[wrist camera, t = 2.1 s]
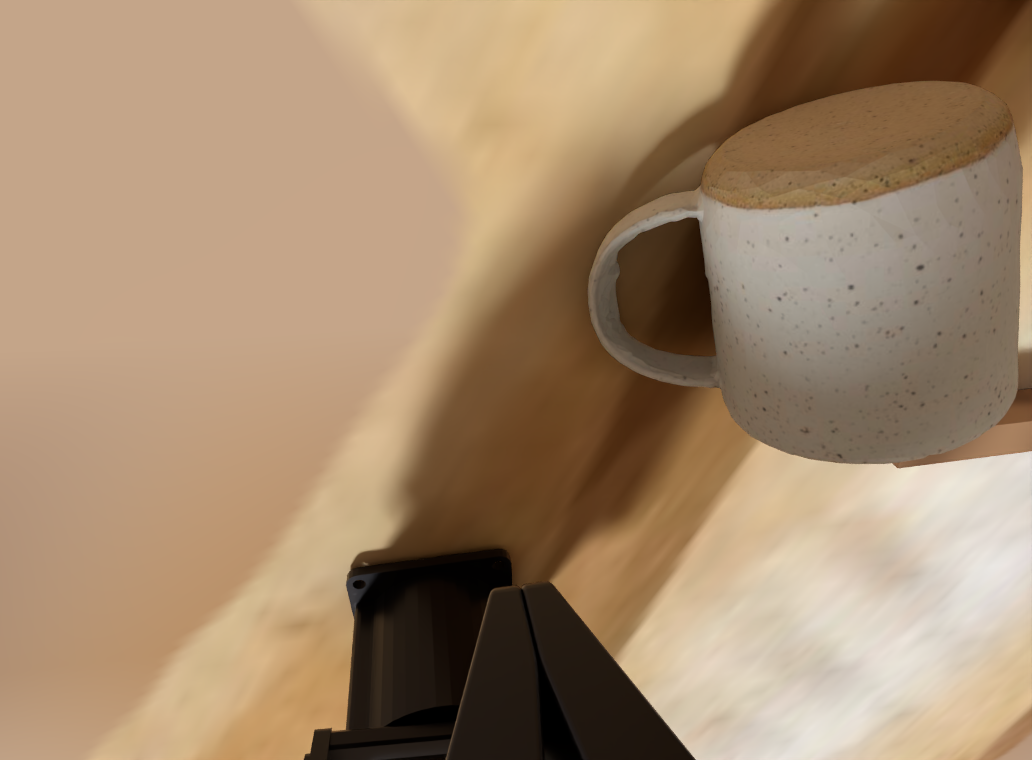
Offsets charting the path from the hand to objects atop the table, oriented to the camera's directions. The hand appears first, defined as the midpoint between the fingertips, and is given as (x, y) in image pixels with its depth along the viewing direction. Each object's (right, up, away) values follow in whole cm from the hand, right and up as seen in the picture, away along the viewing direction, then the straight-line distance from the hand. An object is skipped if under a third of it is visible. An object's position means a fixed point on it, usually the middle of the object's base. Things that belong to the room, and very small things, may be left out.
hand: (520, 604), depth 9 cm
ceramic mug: (+7, +7, +12) cm, 16 cm away
